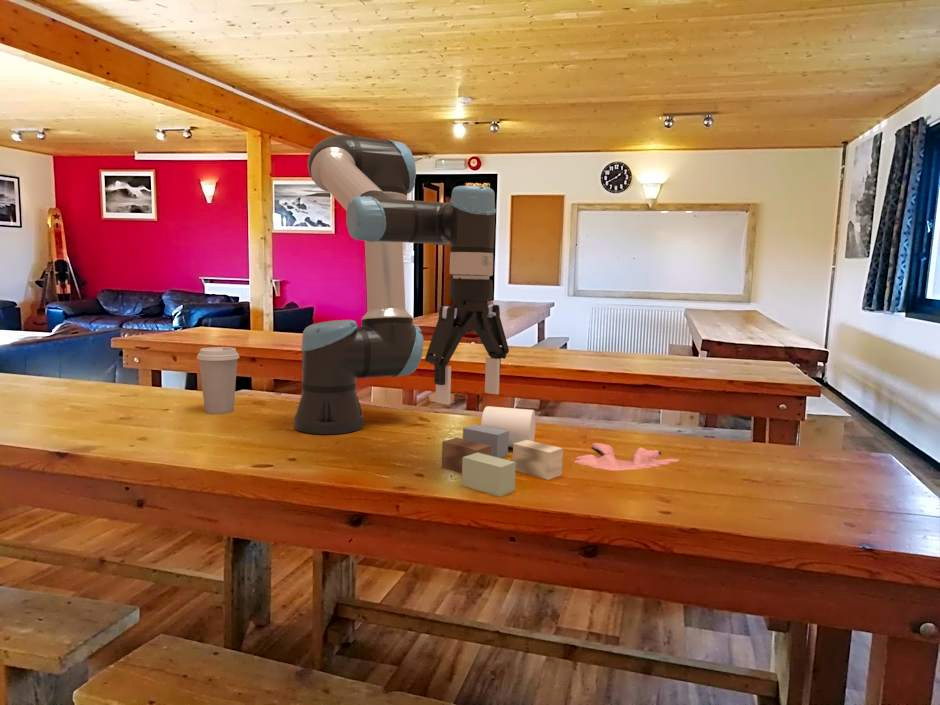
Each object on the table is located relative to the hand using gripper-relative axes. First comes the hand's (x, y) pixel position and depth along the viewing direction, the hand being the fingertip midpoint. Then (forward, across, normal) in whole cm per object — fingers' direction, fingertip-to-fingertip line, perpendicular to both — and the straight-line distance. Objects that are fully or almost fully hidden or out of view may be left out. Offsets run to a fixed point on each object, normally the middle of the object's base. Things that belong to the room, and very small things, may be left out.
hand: (468, 398), depth 120 cm
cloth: (+14, +29, -17) cm, 36 cm away
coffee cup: (+13, -6, +72) cm, 74 cm away
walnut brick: (+13, 0, 0) cm, 13 cm away
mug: (+13, +20, +5) cm, 25 cm away
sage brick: (+13, -5, -9) cm, 17 cm away
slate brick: (+13, +11, +4) cm, 18 cm away
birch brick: (+13, +8, -10) cm, 18 cm away
